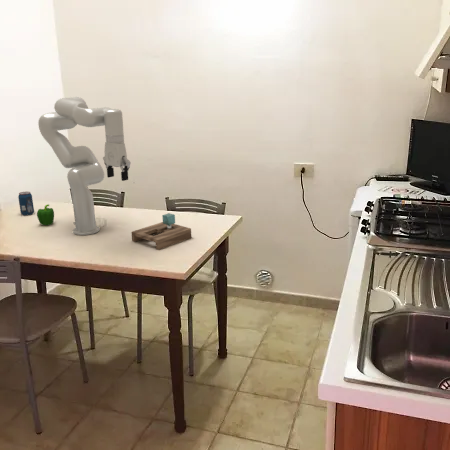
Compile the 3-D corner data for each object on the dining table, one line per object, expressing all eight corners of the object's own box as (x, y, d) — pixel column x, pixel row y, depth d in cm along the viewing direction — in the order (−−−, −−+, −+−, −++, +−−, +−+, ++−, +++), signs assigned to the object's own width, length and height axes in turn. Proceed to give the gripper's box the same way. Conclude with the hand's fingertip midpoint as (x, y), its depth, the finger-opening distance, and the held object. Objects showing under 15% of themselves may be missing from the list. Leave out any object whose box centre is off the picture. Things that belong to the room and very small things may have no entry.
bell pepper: (42, 228, 251) (39, 208, 248) (36, 224, 257) (33, 205, 254) (58, 224, 257) (56, 205, 253) (52, 220, 262) (49, 202, 259)
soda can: (25, 212, 279) (21, 191, 276) (36, 212, 278) (33, 191, 275) (18, 215, 273) (15, 194, 269) (30, 216, 272) (27, 194, 268)
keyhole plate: (132, 241, 229) (131, 231, 228) (165, 230, 243) (164, 221, 242) (158, 249, 218) (157, 240, 216) (191, 237, 232) (191, 228, 230)
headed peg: (162, 236, 234) (160, 215, 231) (170, 234, 237) (169, 212, 234) (169, 239, 231) (168, 217, 227) (177, 236, 234) (176, 214, 231)
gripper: (95, 138, 217) (98, 177, 222) (120, 142, 206) (123, 183, 212) (109, 136, 222) (112, 174, 228) (135, 140, 211) (137, 180, 217)
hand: (117, 178), depth 220 cm, fingers open, 9 cm apart
